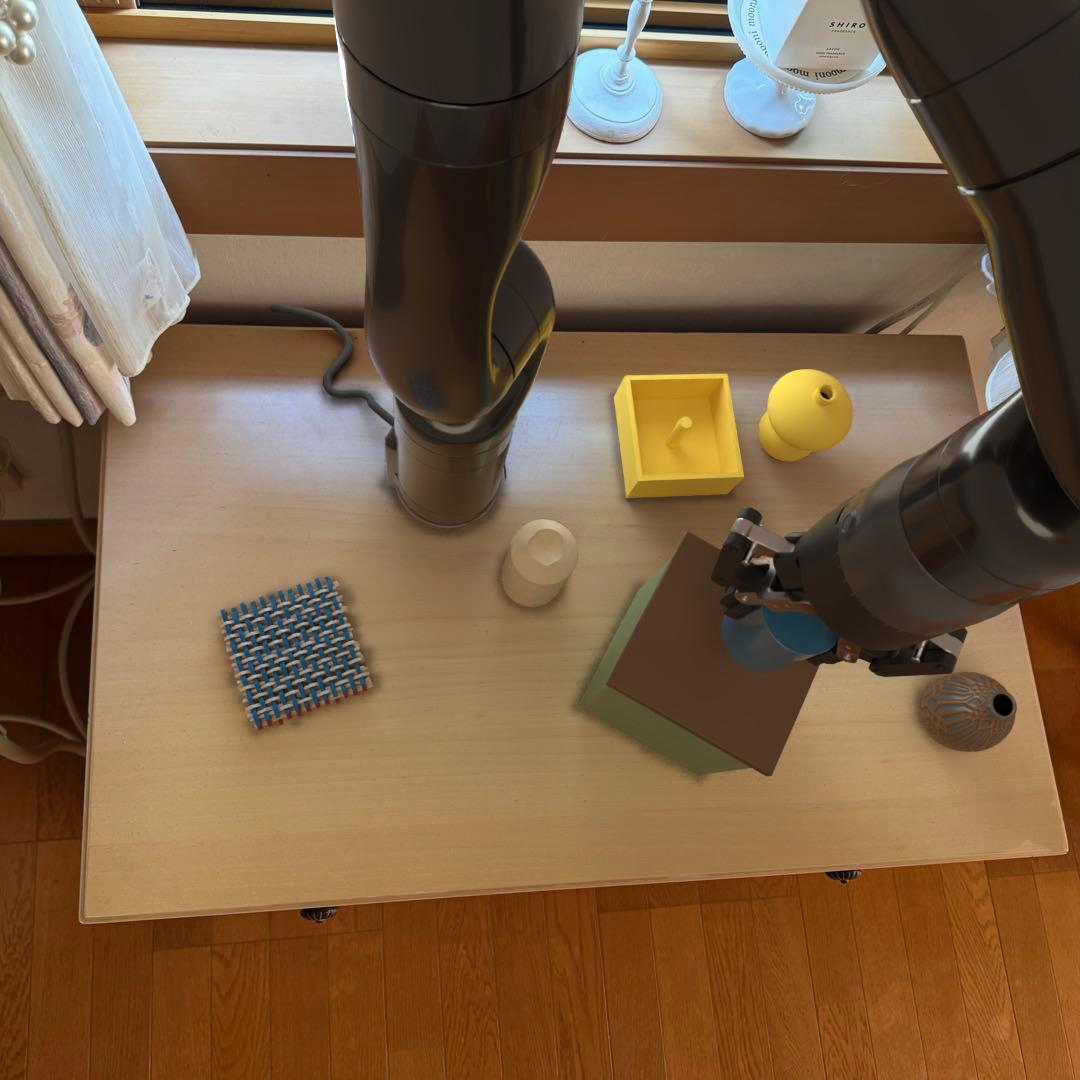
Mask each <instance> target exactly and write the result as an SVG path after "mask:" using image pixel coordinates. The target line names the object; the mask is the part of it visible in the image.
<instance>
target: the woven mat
mask: <svg viewBox="0 0 1080 1080" xmlns="http://www.w3.org/2000/svg"><path fill="white" fill-rule="evenodd" d="M324 581H325V585H322V582H321V580H320V577H316V578H314V582H315V584H316V587H315V588H313V586H312V583H311V582H307V583H305V585H306V588H307V590H306V591H304V589H303V586H302V584H301V583H298V584H296V585H295V586H296V589H297V592H298V593H297V594H295V593H294V590H293V588H288V589H287V593H288V596H285V594H284V592H283V590H282V589H280V590H278V591H277V594H278V598H279V599H277V600H276V598H275V596H274V594H271V595H268V598H269V602H270V603H267V601H266V599H265V598H264V596H263V595H262V596H259V597H258V600H259V604H260V606H258V607H257V603H256V601H255V600H253V601H250V602H249V603H250V607H251V609H249V610H248V607H247V604H245V602H240V603H239V606H240V610H241V612H240V613H239V611H238V609H237V607H236V606H234V607H232V608H230V610H231V614H230V615H229V614H228V612H227V610H225V608H223V609H220V610H219V612H220V615H221V617H222V618H220V619H218V620H217V626H219V627H220V629H221V628H223V627H224V629H223V630H220V633H221V634H226V636H225V637H223V640H224V641H225V644H226V647H225V650H226V652H227V653H233V654H232V655H230V656H229V658H228V659H230V661H232V660H233V663H231V666H230V667H231V668H233V671H234V672H233V673H234V678H235V680H237V681H236V682H235V683H236V684H237V687H236V688H237V690H238V691H239V692H240V693H242V692H243V693H242V695H243V697H245V698H242V703H247V704H248V706H247V707H245V708H244V712H245V716H246V717H247V718H248V719H249V722H253V725H254V728H255V729H256V730H258V731H261V730H263V729H264V727H265V726H267V727H269V728H270V727H272V726H273V725H274V724H273V723H275V722H276V721H278V725H279V726H282V725H284V719H287V720H291V719H293V716H296V715H297V718H301V717H303V713H304V712H306V713H310V712H312V709H314V708H315V709H316V710H318V709H320V708H322V707H321V706H322V705H325V706H329V705H331V702H333V701H335V704H339V703H341V698H344V699H349V698H350V695H352V694H353V696H354V697H357V696H359V692H361V691H363V693H365V692H367V691H368V689H369V688H373V687H374V685H373V682H372V680H371V678H370V676H369V675H370V672H369V667H368V666H364V665H361V666H360V664H362V663H365V662H366V661H365V658H364V655H363V653H361V651H359V650H360V647H361V644H360V642H358V641H357V640H352V639H354V636H353V633H352V631H354V627H352V625H351V622H349V621H348V618H347V617H346V616H344V617H343V614H345V613H348V612H349V611H348V609H349V608H348V606H346V605H343V604H342V603H343V602H345V600H344V597H343V594H340V595H339V592H338V591H334V590H337V588H338V587H339V586H340V582H338V581H337V580H334V581H332V582H331V580H330V577H329V575H327V576H325V577H324ZM319 596H320V597H319ZM317 597H318V598H317ZM310 599H311V600H310ZM307 600H309V601H307ZM298 603H301V604H298ZM289 605H291V606H290V607H289ZM279 609H281V610H279ZM271 612H273V613H271ZM270 613H271V614H270ZM261 615H263V616H261ZM336 617H337V618H338V619H335V618H336ZM253 618H254V619H253ZM252 619H253V620H252ZM326 621H328V622H327V623H325V622H326ZM242 622H244V623H242ZM232 624H235V625H234V626H232ZM318 624H319V625H318ZM316 625H317V626H316ZM309 627H310V628H309ZM306 628H309V629H306ZM236 629H237V630H236ZM267 631H268V632H267ZM298 631H300V632H298ZM288 634H291V635H289V636H288ZM329 634H330V635H329ZM279 637H281V638H280V639H278V638H279ZM270 641H271V642H270ZM344 641H345V643H342V642H344ZM260 644H262V645H260ZM334 645H336V646H335V647H333V646H334ZM251 647H252V648H251ZM325 649H326V650H325ZM242 650H243V651H242ZM240 651H242V652H240ZM316 652H318V653H316ZM307 655H308V656H307ZM305 656H306V657H305ZM287 662H288V663H287ZM277 665H279V666H277ZM353 666H354V668H353V669H351V667H353ZM268 669H269V670H268ZM342 669H344V670H345V672H341V670H342ZM259 672H260V673H259ZM334 672H335V673H336V675H332V674H333V673H334ZM325 676H326V678H325V679H323V678H322V677H325ZM366 676H368V677H366ZM365 677H366V678H365ZM357 679H358V680H357ZM314 680H316V682H313V681H314ZM306 683H307V685H304V684H306ZM297 686H298V687H297ZM295 687H297V689H294V688H295ZM285 690H288V692H285ZM244 691H245V692H244ZM277 693H278V695H275V694H277ZM267 697H269V698H268V699H266V698H267ZM258 700H259V702H257V703H256V701H258Z"/></svg>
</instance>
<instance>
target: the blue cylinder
mask: <svg viewBox="0 0 1080 1080" xmlns="http://www.w3.org/2000/svg"><path fill="white" fill-rule="evenodd" d="M722 638H723V642H724V645H725V647H726V649H727V651H728V653H729V654H730V656H731V657H732V658H733V659H734V660H735V661H736V662H737V663H738V664H739V665H741V666H742V667H744V668H746V669H748V670H750V671H753V672H758V673H770V672H774V671H777V670H779V669H782V668H785V667H787V666H790V665H793V664H795V663H798V662H800V661H803V660H806V659H808V658H811V657H814V656H816V655H819V654H821V653H824V652H826V651H828V650H830V649H831V648H833V647H834V646H835V645H836V644H837V643H838V641H839V638H840V636H838V635H837V634H835V633H834V632H833V631H832V630H831V629H829V628H828V627H827V626H826V625H825V624H824V623H823V621H822V620H821V619H819V618H818V617H817V616H815V615H805V614H804V613H803V612H772V611H771V610H769V609H768V608H767V607H766V606H764V605H754V606H753V608H752V609H750V610H748V611H746V612H745V613H743V614H741V615H740V616H738V617H736V618H735V619H732V618H730V617H728V616H726V615H724V618H723V621H722Z"/></svg>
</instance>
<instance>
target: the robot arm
mask: <svg viewBox="0 0 1080 1080" xmlns="http://www.w3.org/2000/svg"><path fill="white" fill-rule="evenodd" d="M856 2H857V4H858V6H859V10H860V12H861V15H862V17H863V19H864V21H865V25H866V27H867V29H868V31H869V33H870V35H871V37H872V39H873V41H874V43H875V45H876V47H877V49H878V51H879V53H880V55H881V58H882V60H883V62H884V64H885V65H886V67H887V69H888V71H889V72H890V74H891V76H892V78H893V81H894V82H895V84H896V86H897V87H898V89H899V91H900V93H901V94H902V96H903V97H904V99H905V102H906V103H907V105H908V107H909V108H910V110H911V112H912V114H913V115H914V118H915V119H916V121H917V122H918V125H919V126H920V128H921V129H922V131H923V132H924V134H925V136H926V138H927V140H928V141H929V143H930V145H931V146H932V148H933V150H934V151H935V154H936V155H937V157H938V158H939V160H940V162H941V164H942V166H943V167H944V169H945V170H946V172H947V174H948V176H949V177H950V179H951V181H952V183H954V184H955V186H956V189H957V191H958V193H959V194H960V196H961V197H962V199H963V201H964V202H965V205H967V207H968V209H969V210H970V211H971V213H972V214H973V216H974V217H975V219H976V220H977V221H978V223H979V227H980V228H981V230H982V233H983V235H984V239H985V243H986V247H987V252H988V257H989V261H990V266H991V272H992V278H993V284H994V288H995V294H996V300H997V304H998V308H999V313H1000V316H1001V320H1002V324H1003V327H1004V330H1005V333H1006V336H1007V340H1008V343H1009V347H1010V352H1011V355H1012V359H1013V363H1014V367H1015V371H1016V375H1017V379H1018V383H1019V386H1020V387H1019V388H1018V389H1017V390H1015V391H1014V392H1013V393H1012V394H1011V395H1009V396H1008V397H1007V398H1005V399H1004V400H1003V401H1001V402H1000V403H998V404H996V406H994V407H993V408H991V409H988V410H987V411H984V413H981V414H980V415H978V416H976V417H975V418H972V419H971V420H970V421H968V422H967V423H966V424H964V425H962V426H961V427H960V428H958V429H957V430H955V431H954V432H952V433H951V434H949V435H948V436H947V437H944V439H942V440H941V441H940V442H939V441H938V443H936V444H935V445H934V446H932V447H930V448H928V449H927V450H926V451H925V452H922V453H920V454H917V455H915V456H912V457H910V458H908V459H906V460H904V461H902V462H900V463H898V464H897V465H895V466H893V467H892V468H891V469H888V470H887V471H886V472H884V473H883V474H882V475H880V476H879V477H878V478H876V479H874V480H873V481H872V482H870V483H869V484H868V485H866V486H864V487H863V488H862V489H860V490H858V491H857V492H856V493H855V494H852V496H850V497H849V498H848V499H846V500H845V501H843V502H842V503H840V504H839V505H838V506H835V508H833V509H832V510H830V511H829V512H828V513H826V514H825V515H824V516H822V517H821V518H820V519H819V520H818V521H816V522H815V524H813V525H812V526H811V527H810V528H809V529H808V530H805V531H793V532H790V533H787V534H785V535H784V536H782V535H779V534H777V533H776V532H773V531H771V530H769V529H767V527H766V526H765V525H764V524H761V521H762V520H763V514H762V513H761V512H760V511H759V510H757V509H755V508H753V507H750V506H742V507H741V508H740V510H739V512H738V514H737V516H736V518H735V520H734V522H733V524H732V527H731V528H730V530H729V532H728V534H727V536H726V538H725V540H724V542H723V544H722V546H721V548H720V549H721V552H720V554H719V557H718V559H717V562H716V565H715V567H714V570H713V573H712V575H711V580H712V581H713V582H714V583H716V584H717V585H719V586H722V587H726V589H725V591H724V593H723V595H722V597H721V599H720V604H721V605H723V606H725V609H724V611H723V614H725V615H726V616H728V617H730V618H732V619H735V618H736V617H738V616H740V615H741V614H743V613H745V612H746V611H748V610H750V609H752V608H753V606H754V605H764V606H766V607H767V608H768V609H769V610H771V611H772V612H803V613H804V614H805V615H815V616H817V617H818V618H819V619H821V620H822V621H823V623H824V624H825V625H826V626H827V627H828V628H829V629H831V630H832V631H833V632H834V633H835V634H837V635H838V636H840V638H839V641H838V643H837V644H836V645H835V646H834V647H833V648H831V649H830V650H828V651H826V652H824V653H821V654H819V655H816V656H814V657H811V658H808V659H806V660H805V661H807V662H809V663H811V664H812V665H814V666H817V665H820V666H821V665H823V664H825V665H836V664H838V663H840V662H845V663H849V664H857V662H858V660H861V661H864V662H867V663H869V665H868V671H870V672H872V673H873V674H874V675H875V676H878V677H883V678H896V677H918V676H938V675H949V674H952V673H954V671H955V668H956V665H957V662H958V659H959V657H960V654H961V652H962V649H963V647H964V643H965V640H966V638H967V636H968V633H969V632H968V629H967V628H968V627H971V626H974V625H978V624H980V623H983V622H986V621H987V620H990V619H994V618H995V617H998V616H999V615H1001V614H1003V613H1004V612H1006V611H1008V610H1010V609H1011V608H1013V607H1015V606H1016V605H1018V604H1020V603H1023V602H1025V601H1029V600H1031V599H1034V598H1037V597H1040V596H1043V595H1046V594H1048V593H1051V592H1054V591H1057V590H1060V589H1063V588H1066V587H1069V586H1073V585H1075V584H1077V583H1080V0H856ZM585 4H586V0H331V6H332V13H333V21H334V27H335V36H336V42H337V48H338V55H339V56H338V57H339V62H340V69H341V77H342V83H343V84H342V85H343V88H344V89H343V90H344V94H345V98H346V103H347V109H348V114H349V119H350V124H351V130H352V136H353V145H354V146H353V147H354V153H355V156H354V157H355V165H356V174H357V185H358V194H359V202H360V211H361V218H362V229H363V238H364V240H363V241H364V261H365V262H364V293H363V294H364V298H363V332H364V333H363V334H364V340H365V345H366V349H367V352H368V355H369V357H370V360H371V363H372V364H373V366H374V369H375V370H376V372H377V374H378V376H379V377H380V379H381V380H382V381H383V383H384V384H385V386H386V387H387V389H388V390H389V391H390V392H391V393H392V403H393V415H392V414H391V413H390V412H388V411H387V410H386V409H385V408H384V407H382V405H380V404H379V403H378V402H377V401H376V400H375V398H374V396H373V395H372V394H371V393H370V392H368V391H365V390H363V389H361V390H360V389H346V390H341V389H335V388H334V387H333V385H332V379H333V378H334V376H335V374H336V373H337V372H338V371H339V370H340V368H341V367H342V366H343V365H345V363H346V362H347V361H348V359H349V358H350V357H351V355H352V352H353V349H354V343H353V340H352V338H351V336H350V334H349V332H348V331H347V330H346V328H344V327H343V326H342V325H341V324H340V323H339V322H338V321H336V320H334V319H333V318H331V317H330V316H327V315H325V314H322V313H320V312H318V311H317V312H316V311H314V310H310V309H306V308H301V307H297V306H292V305H286V304H278V303H272V304H270V305H269V306H268V307H269V308H268V309H269V310H270V311H271V312H272V313H277V314H285V315H291V316H297V317H301V318H306V319H309V320H313V321H316V322H319V323H321V324H324V325H326V326H328V327H329V328H331V329H332V330H333V331H334V332H335V333H337V335H339V336H340V338H341V339H342V341H343V344H344V348H343V351H342V352H341V354H340V355H339V356H338V357H337V358H336V359H335V360H334V362H332V364H331V365H329V367H328V368H327V369H326V370H325V373H324V374H323V377H322V387H323V390H324V392H326V394H327V395H328V396H330V397H331V398H334V399H340V400H342V399H344V400H345V399H361V400H363V401H365V403H366V404H367V406H368V407H369V409H370V410H371V411H372V412H374V413H375V415H377V416H378V417H379V418H381V419H382V420H383V421H384V422H386V423H387V424H388V425H389V426H390V427H391V428H390V429H389V431H388V432H387V434H386V435H385V437H384V455H385V457H384V458H385V470H386V471H385V472H386V483H387V485H388V486H389V487H391V488H393V489H394V490H395V491H396V494H397V497H398V499H399V502H400V504H401V505H402V507H403V508H404V510H405V511H406V512H407V513H408V515H410V516H411V518H413V519H414V520H415V521H417V522H419V523H421V524H422V525H423V526H426V527H428V528H432V529H435V530H440V531H455V530H462V529H464V528H468V527H470V526H472V525H475V524H476V523H478V522H479V521H481V520H482V519H483V518H484V517H486V515H487V514H488V513H489V512H490V511H491V509H492V508H493V506H494V504H495V503H496V500H497V497H498V495H499V491H500V486H501V485H500V484H501V479H502V475H503V476H504V481H507V467H506V460H507V456H508V453H509V449H510V445H511V442H512V438H513V435H514V430H515V426H516V422H517V420H518V415H519V412H520V410H521V409H522V407H523V405H524V403H525V401H526V399H527V397H528V396H529V394H530V392H531V390H532V388H533V386H534V383H535V381H536V379H537V376H538V374H539V371H540V368H541V365H542V362H543V359H544V356H545V353H546V350H547V348H548V344H549V341H550V339H551V336H552V332H553V329H554V325H555V321H556V315H557V299H556V293H555V289H554V287H553V286H554V285H553V281H552V279H551V276H550V275H549V272H548V271H547V269H546V266H545V265H544V263H543V262H542V260H541V259H540V257H539V255H537V253H536V252H535V250H533V248H531V246H530V245H529V244H528V243H527V242H526V241H525V240H524V239H522V236H523V234H524V231H525V229H526V227H527V225H528V222H529V220H530V218H531V216H532V213H533V211H534V208H535V206H536V204H537V201H538V199H539V197H540V194H541V193H542V190H543V187H544V185H545V183H546V180H547V178H548V175H549V173H550V170H551V167H552V165H553V162H554V159H555V157H556V153H557V151H558V148H559V144H560V141H561V138H562V133H563V130H564V125H565V121H566V118H567V114H568V110H569V106H570V102H571V97H572V91H573V84H574V79H575V72H576V66H577V61H578V54H579V47H580V42H581V33H582V30H583V23H584V17H585V16H584V15H585V6H586V5H585ZM762 557H763V558H762ZM764 557H765V558H764Z"/></svg>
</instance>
